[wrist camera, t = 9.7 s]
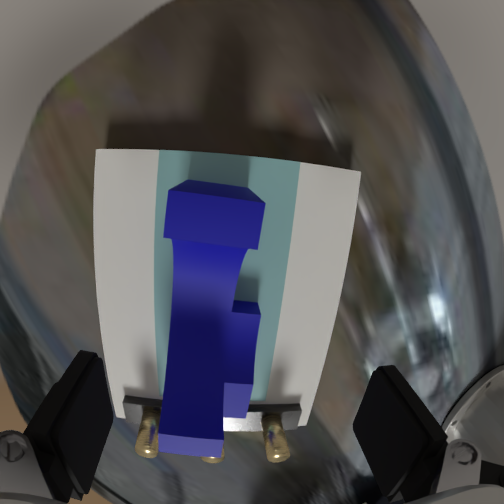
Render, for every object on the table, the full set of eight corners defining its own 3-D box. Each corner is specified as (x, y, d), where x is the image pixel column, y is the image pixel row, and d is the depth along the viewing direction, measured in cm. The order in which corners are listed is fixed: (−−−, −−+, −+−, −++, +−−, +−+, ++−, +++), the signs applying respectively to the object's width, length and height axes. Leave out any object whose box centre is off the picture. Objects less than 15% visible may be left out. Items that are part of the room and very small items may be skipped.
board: (350, 170, 17) (362, 172, 16) (301, 412, 22) (306, 427, 20) (105, 149, 15) (94, 149, 14) (120, 403, 20) (116, 418, 19)
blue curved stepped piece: (241, 385, 19) (251, 458, 13) (170, 378, 18) (158, 451, 12) (277, 192, 16) (311, 210, 10) (187, 179, 15) (168, 190, 9)
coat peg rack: (299, 403, 20) (313, 444, 16) (294, 421, 20) (306, 462, 17) (124, 394, 18) (111, 436, 15) (128, 414, 19) (117, 455, 15)
